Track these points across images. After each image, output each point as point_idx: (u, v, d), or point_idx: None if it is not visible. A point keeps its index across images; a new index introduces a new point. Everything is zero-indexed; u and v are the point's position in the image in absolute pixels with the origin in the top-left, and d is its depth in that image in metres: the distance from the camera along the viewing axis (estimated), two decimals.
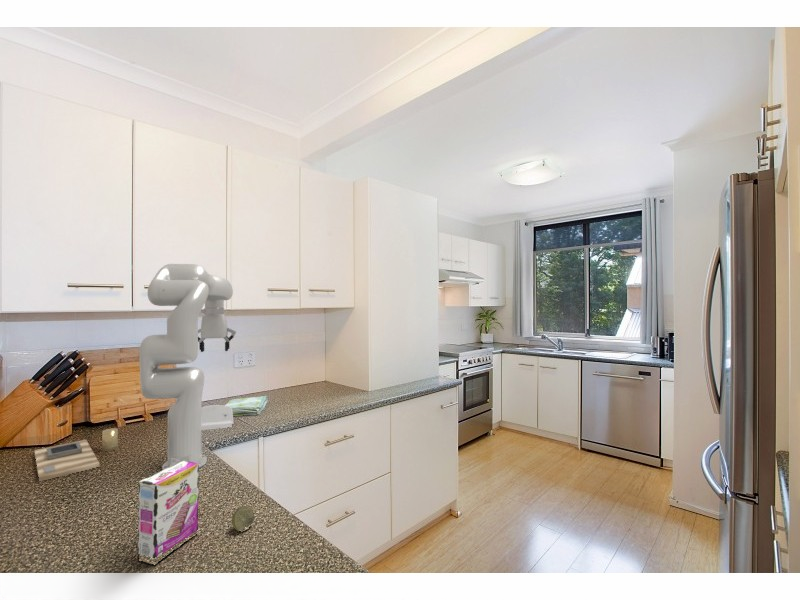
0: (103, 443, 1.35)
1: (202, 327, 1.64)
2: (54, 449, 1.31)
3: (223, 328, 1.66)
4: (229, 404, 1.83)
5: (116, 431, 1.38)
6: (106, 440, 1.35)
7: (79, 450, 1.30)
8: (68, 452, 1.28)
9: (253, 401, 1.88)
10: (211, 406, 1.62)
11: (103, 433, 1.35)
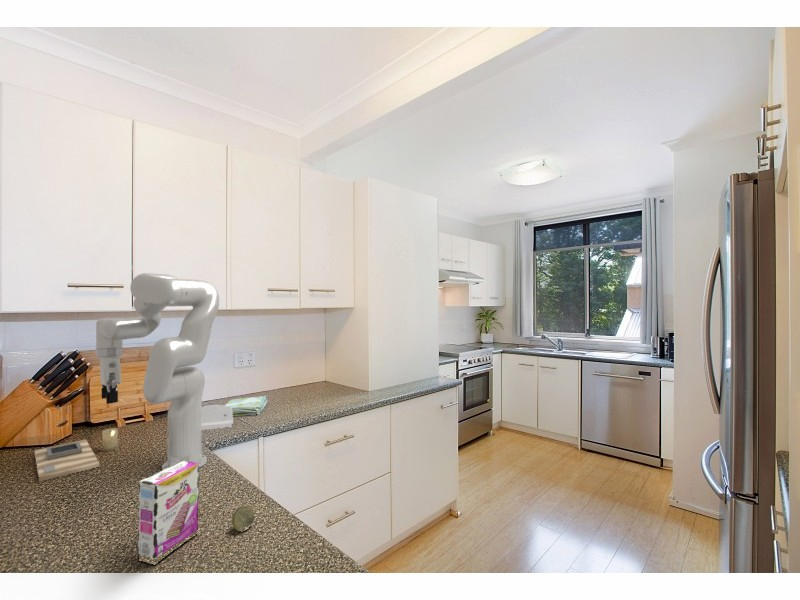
0: (103, 443, 1.35)
1: (120, 371, 1.36)
2: (54, 449, 1.31)
3: None
4: (229, 404, 1.83)
5: (116, 431, 1.38)
6: (106, 440, 1.35)
7: (79, 450, 1.30)
8: (68, 452, 1.28)
9: (253, 401, 1.87)
10: (211, 406, 1.63)
11: (103, 433, 1.35)
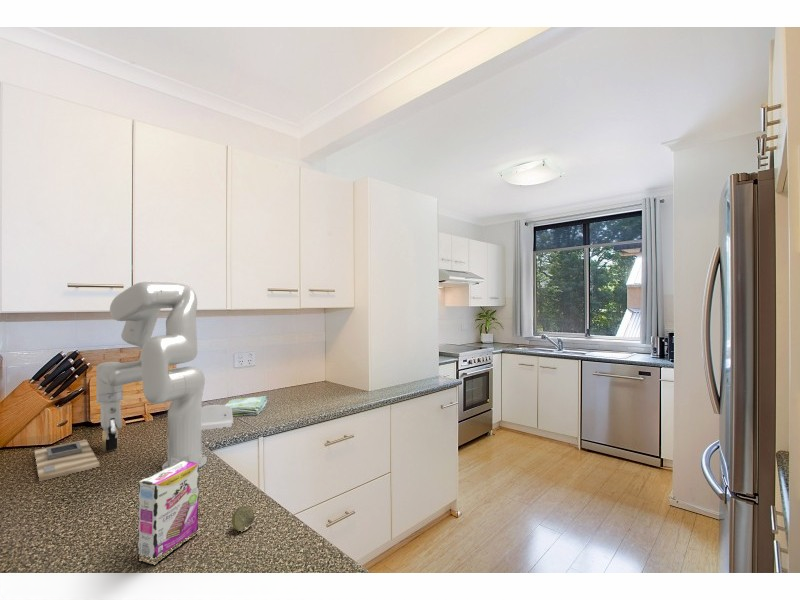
0: (103, 443, 1.35)
1: None
2: (54, 449, 1.31)
3: None
4: (228, 404, 1.83)
5: None
6: None
7: (79, 450, 1.30)
8: (68, 452, 1.28)
9: (253, 401, 1.87)
10: (211, 406, 1.63)
11: (103, 433, 1.35)
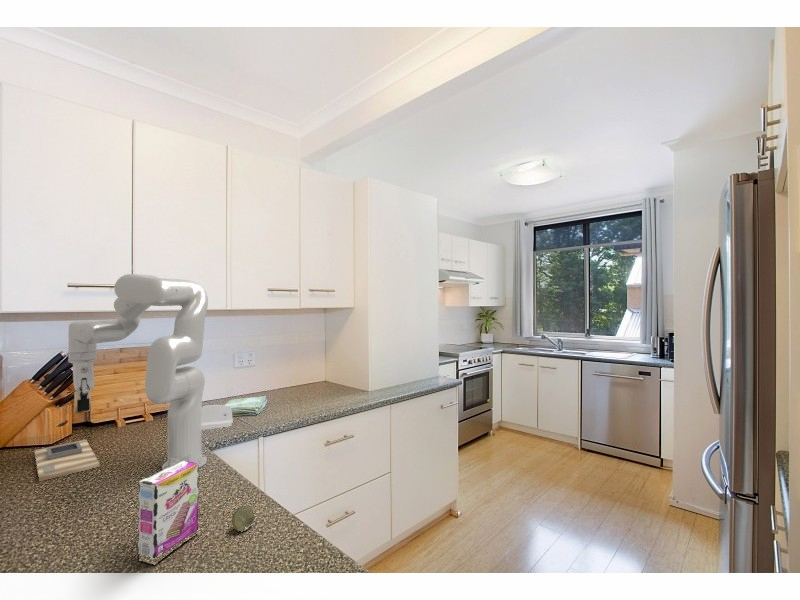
0: (75, 404, 1.32)
1: (93, 376, 1.32)
2: (54, 449, 1.31)
3: None
4: (228, 404, 1.83)
5: (89, 392, 1.34)
6: None
7: (79, 450, 1.30)
8: (68, 452, 1.28)
9: (253, 401, 1.87)
10: (210, 406, 1.63)
11: (75, 393, 1.32)
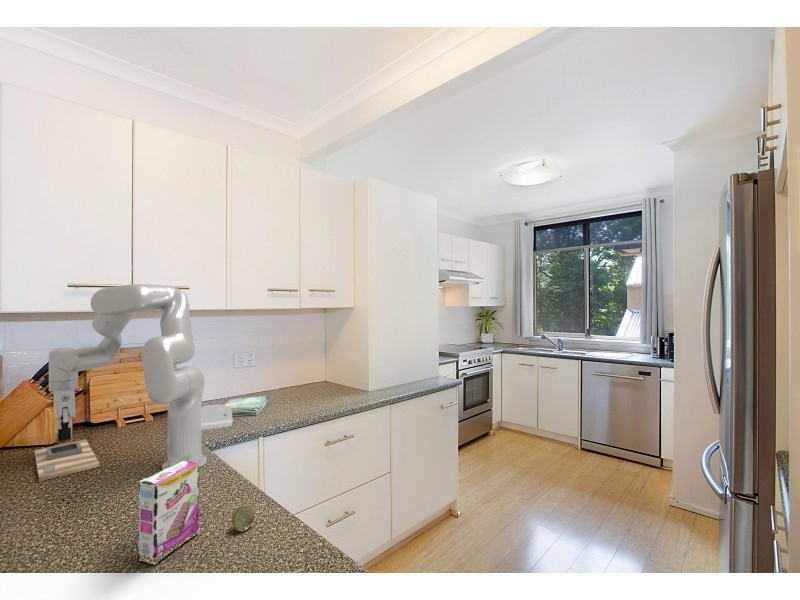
0: (56, 433, 1.29)
1: None
2: (54, 449, 1.31)
3: None
4: (228, 404, 1.83)
5: (70, 421, 1.31)
6: None
7: (79, 450, 1.30)
8: (68, 452, 1.28)
9: (253, 401, 1.87)
10: (210, 406, 1.63)
11: (56, 422, 1.29)
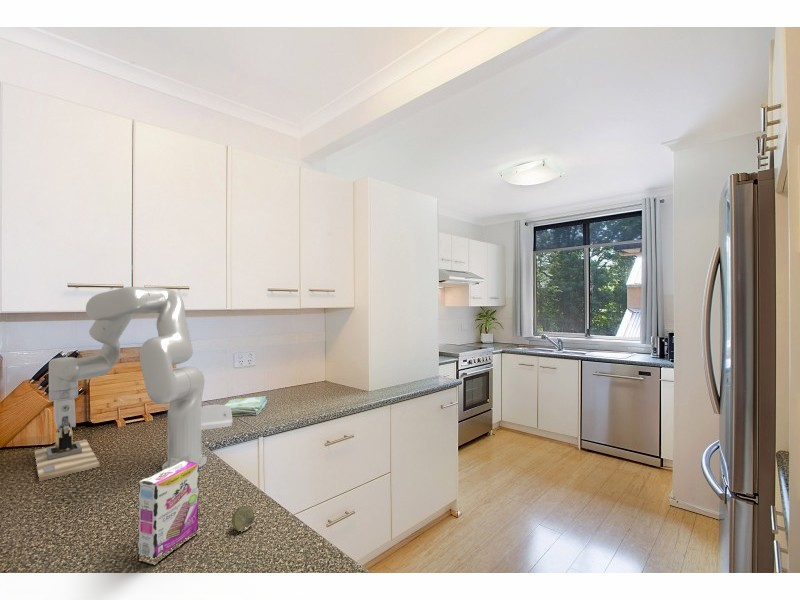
0: (56, 445, 1.29)
1: None
2: (54, 449, 1.31)
3: None
4: (228, 404, 1.83)
5: None
6: None
7: (79, 450, 1.30)
8: (68, 452, 1.28)
9: (253, 401, 1.87)
10: (210, 406, 1.63)
11: (56, 435, 1.29)
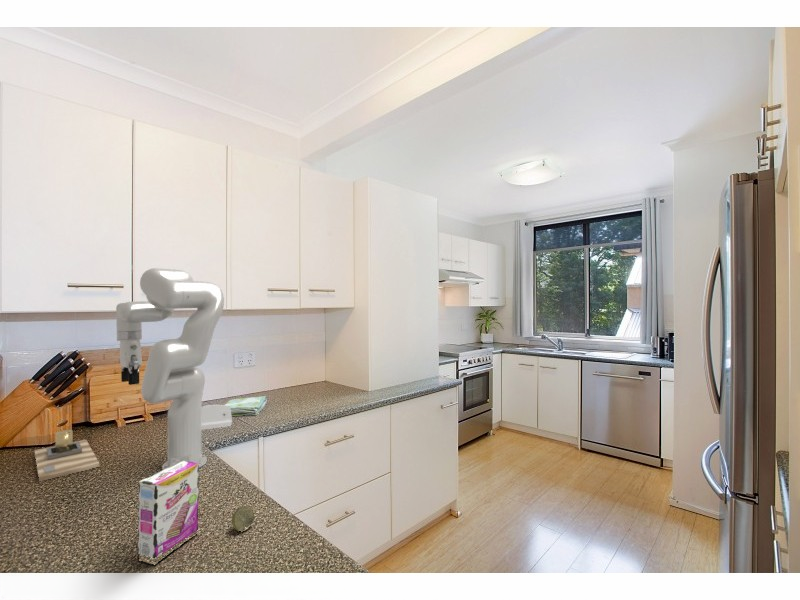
0: (56, 445, 1.29)
1: None
2: (54, 449, 1.31)
3: None
4: (228, 404, 1.83)
5: (70, 433, 1.31)
6: (59, 442, 1.29)
7: (79, 450, 1.30)
8: (68, 452, 1.28)
9: (252, 401, 1.87)
10: (209, 406, 1.63)
11: (56, 435, 1.29)
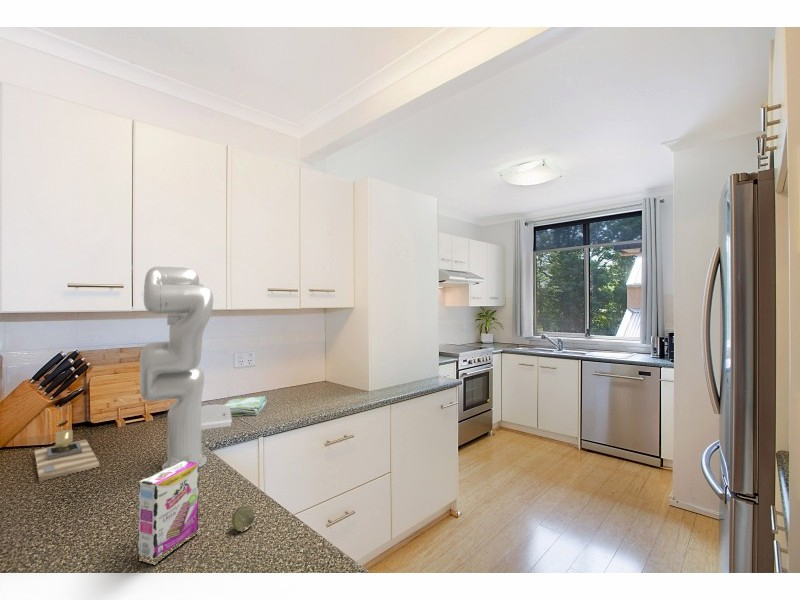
0: (56, 445, 1.29)
1: None
2: (54, 449, 1.31)
3: None
4: (228, 404, 1.83)
5: (71, 433, 1.31)
6: (59, 442, 1.29)
7: (79, 450, 1.30)
8: (68, 452, 1.28)
9: (252, 401, 1.87)
10: (209, 406, 1.63)
11: (56, 435, 1.29)
